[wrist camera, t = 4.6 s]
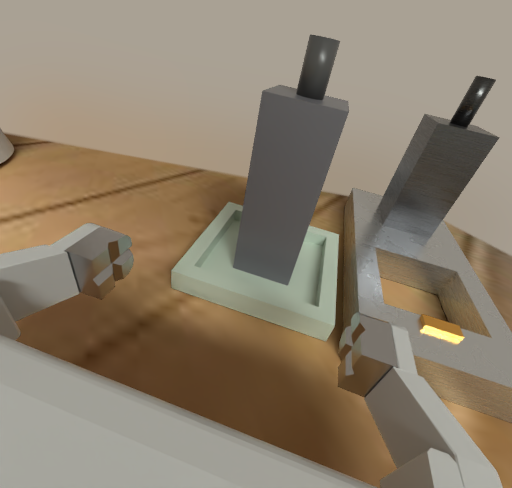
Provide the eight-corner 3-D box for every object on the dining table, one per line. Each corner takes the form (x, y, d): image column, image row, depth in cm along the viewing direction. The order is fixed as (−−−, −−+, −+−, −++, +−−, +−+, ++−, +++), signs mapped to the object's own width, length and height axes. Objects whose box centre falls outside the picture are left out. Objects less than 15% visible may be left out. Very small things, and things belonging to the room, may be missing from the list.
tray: (326, 341, 16) (334, 325, 15) (171, 287, 17) (171, 270, 16) (332, 248, 24) (338, 234, 23) (226, 216, 25) (228, 201, 24)
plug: (287, 285, 18) (371, 45, 11) (232, 267, 19) (273, 24, 11) (296, 252, 22) (365, 49, 14) (249, 237, 22) (289, 32, 14)
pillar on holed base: (514, 423, 14) (1000, 159, 6) (342, 363, 15) (545, 66, 7) (424, 230, 30) (519, 87, 22) (344, 207, 31) (405, 63, 23)
